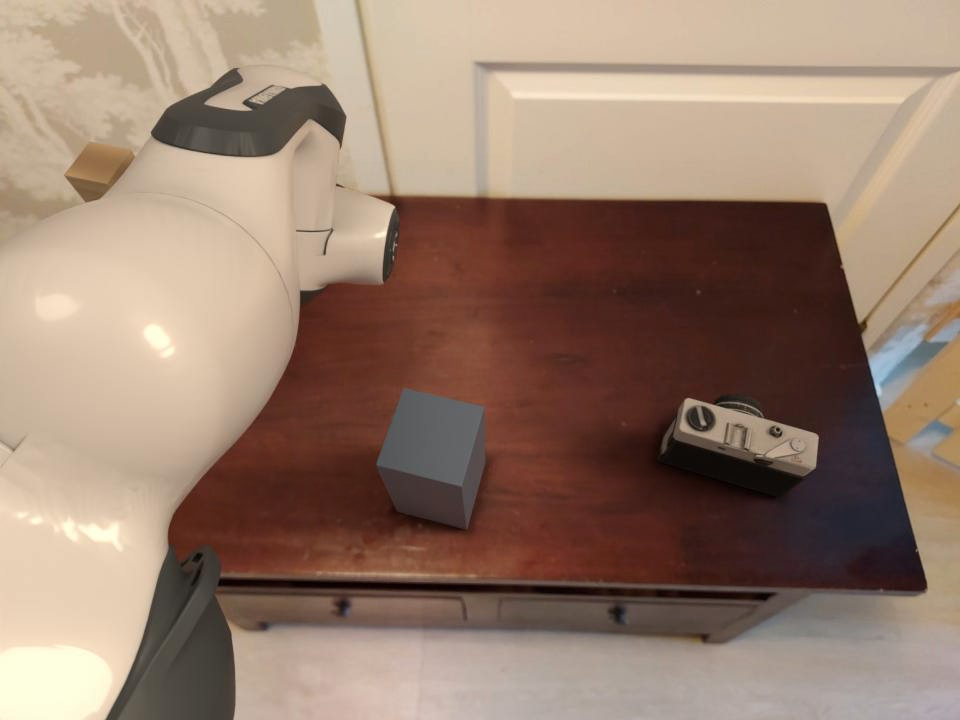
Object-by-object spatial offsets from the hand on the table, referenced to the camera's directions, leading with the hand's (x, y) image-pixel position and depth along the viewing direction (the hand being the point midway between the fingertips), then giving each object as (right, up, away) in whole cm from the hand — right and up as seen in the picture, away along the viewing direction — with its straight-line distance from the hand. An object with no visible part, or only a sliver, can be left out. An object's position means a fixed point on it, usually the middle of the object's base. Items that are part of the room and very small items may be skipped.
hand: (108, 188), depth 64 cm
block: (+1, -2, +4) cm, 4 cm away
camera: (+64, -27, +10) cm, 71 cm away
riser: (+32, -31, +9) cm, 46 cm away
